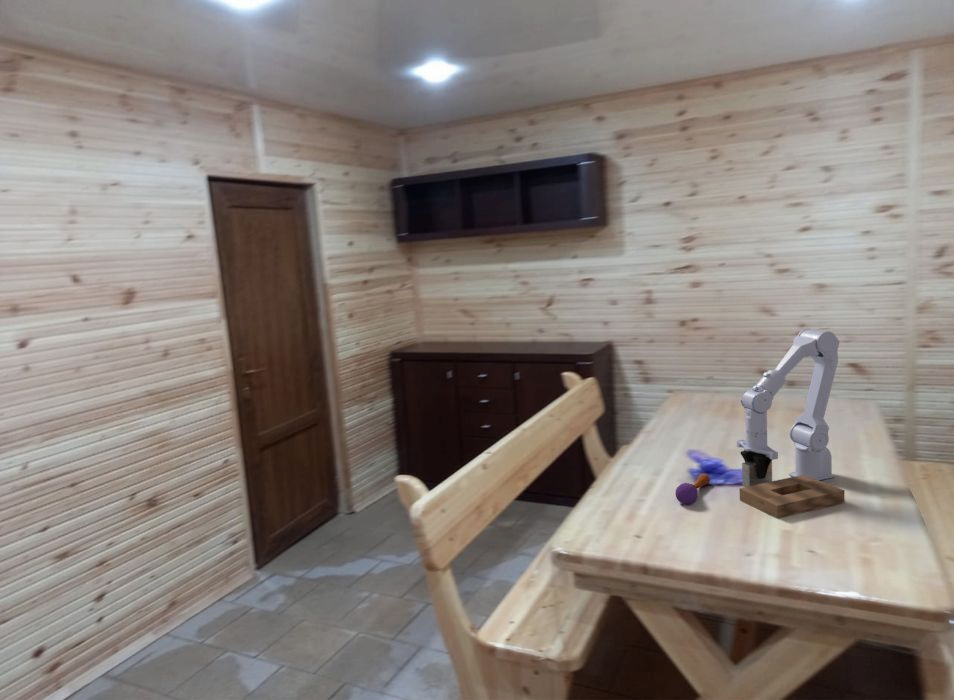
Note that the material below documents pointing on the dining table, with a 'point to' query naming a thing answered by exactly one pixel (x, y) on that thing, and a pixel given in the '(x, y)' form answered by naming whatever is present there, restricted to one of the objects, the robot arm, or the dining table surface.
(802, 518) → the dining table surface
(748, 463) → the tall grey cuboid
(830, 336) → the robot arm
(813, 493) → the well
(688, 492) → the purple and brown maraca
